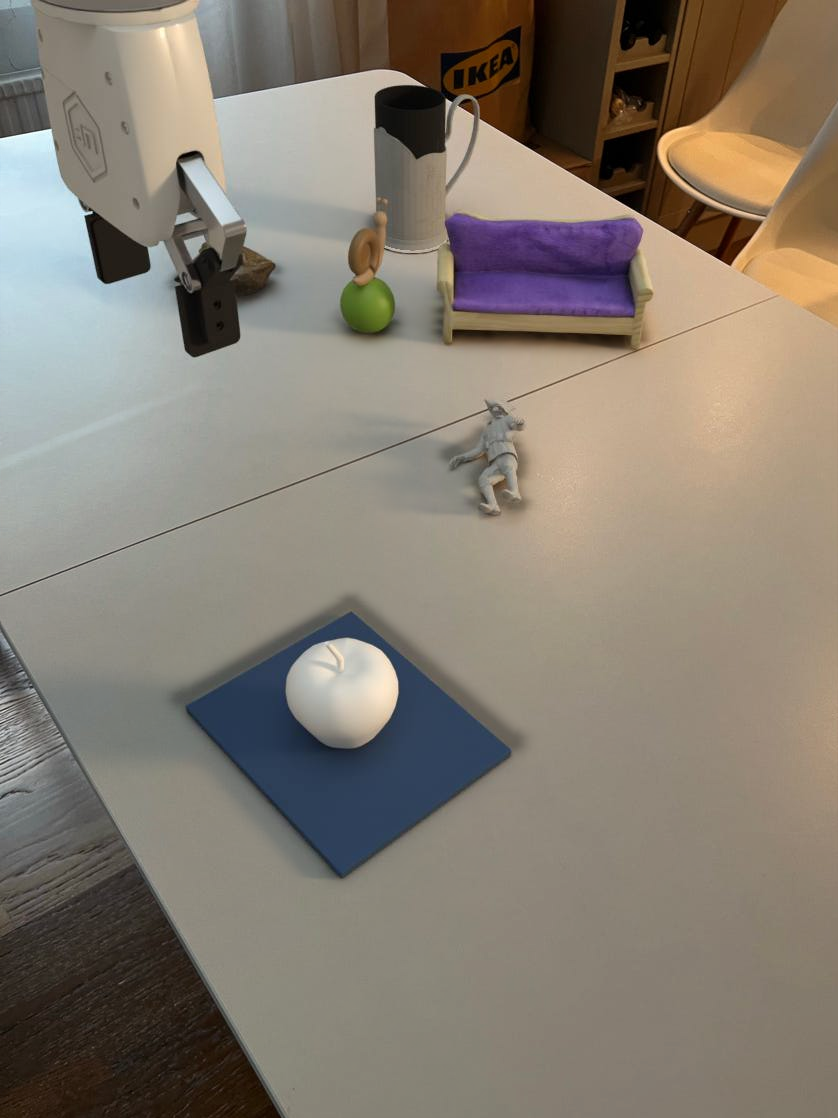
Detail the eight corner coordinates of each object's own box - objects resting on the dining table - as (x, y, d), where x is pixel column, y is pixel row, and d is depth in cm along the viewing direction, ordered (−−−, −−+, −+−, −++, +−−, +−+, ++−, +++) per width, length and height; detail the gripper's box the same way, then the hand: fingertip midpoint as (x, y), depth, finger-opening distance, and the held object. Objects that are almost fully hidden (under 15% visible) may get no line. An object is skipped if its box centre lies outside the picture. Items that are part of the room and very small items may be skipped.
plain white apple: (300, 683, 71) (289, 599, 65) (403, 689, 71) (402, 606, 65) (282, 765, 66) (269, 683, 60) (394, 772, 66) (391, 690, 60)
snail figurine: (409, 319, 106) (408, 203, 98) (379, 348, 102) (375, 230, 94) (363, 306, 108) (358, 191, 99) (331, 334, 104) (323, 216, 95)
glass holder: (357, 232, 119) (351, 93, 109) (450, 201, 126) (453, 67, 116) (405, 261, 115) (404, 119, 104) (498, 227, 122) (506, 90, 111)
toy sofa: (435, 345, 103) (436, 246, 96) (437, 302, 109) (438, 206, 102) (644, 353, 104) (661, 255, 96) (634, 309, 110) (650, 214, 103)
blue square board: (341, 879, 61) (341, 873, 61) (186, 711, 70) (185, 706, 69) (511, 755, 68) (511, 749, 68) (351, 616, 77) (351, 610, 76)
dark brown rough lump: (169, 291, 103) (271, 306, 106) (173, 221, 102) (277, 237, 104) (177, 295, 111) (272, 309, 113) (180, 230, 109) (277, 245, 111)
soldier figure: (450, 524, 86) (436, 407, 91) (488, 543, 89) (472, 429, 94) (522, 482, 81) (503, 362, 86) (559, 504, 85) (539, 387, 90)
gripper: (-52, -73, 49) (36, 268, 62) (130, 32, 41) (189, 402, 53) (95, -88, 53) (150, 236, 65) (289, 5, 45) (309, 357, 57)
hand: (167, 310), depth 59 cm, fingers open, 9 cm apart
